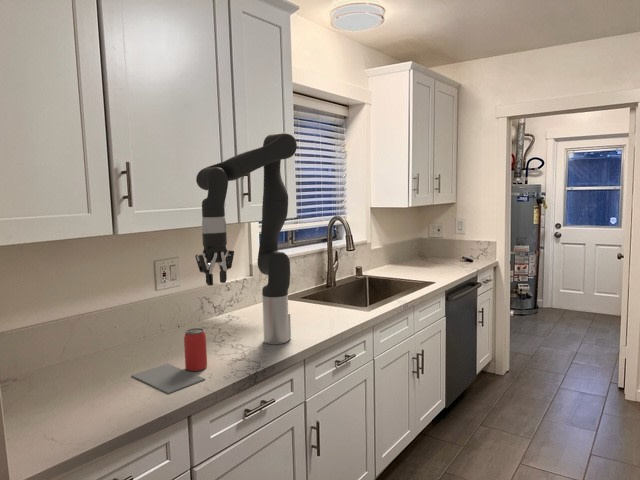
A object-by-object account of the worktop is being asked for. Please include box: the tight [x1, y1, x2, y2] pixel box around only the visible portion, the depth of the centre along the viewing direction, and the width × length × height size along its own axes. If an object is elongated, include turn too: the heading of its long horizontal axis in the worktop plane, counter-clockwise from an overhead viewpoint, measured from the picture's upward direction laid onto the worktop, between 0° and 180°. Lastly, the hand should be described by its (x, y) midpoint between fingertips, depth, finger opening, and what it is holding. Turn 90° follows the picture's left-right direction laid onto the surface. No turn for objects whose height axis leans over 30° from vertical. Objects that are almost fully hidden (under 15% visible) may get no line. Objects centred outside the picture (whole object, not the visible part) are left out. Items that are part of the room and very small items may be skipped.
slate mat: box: [131, 363, 206, 395], centre depth 136 cm, size 12×20×1 cm, turn 50°
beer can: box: [183, 327, 208, 372], centre depth 143 cm, size 7×7×12 cm
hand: (216, 283), depth 148 cm, fingers open, 4 cm apart
